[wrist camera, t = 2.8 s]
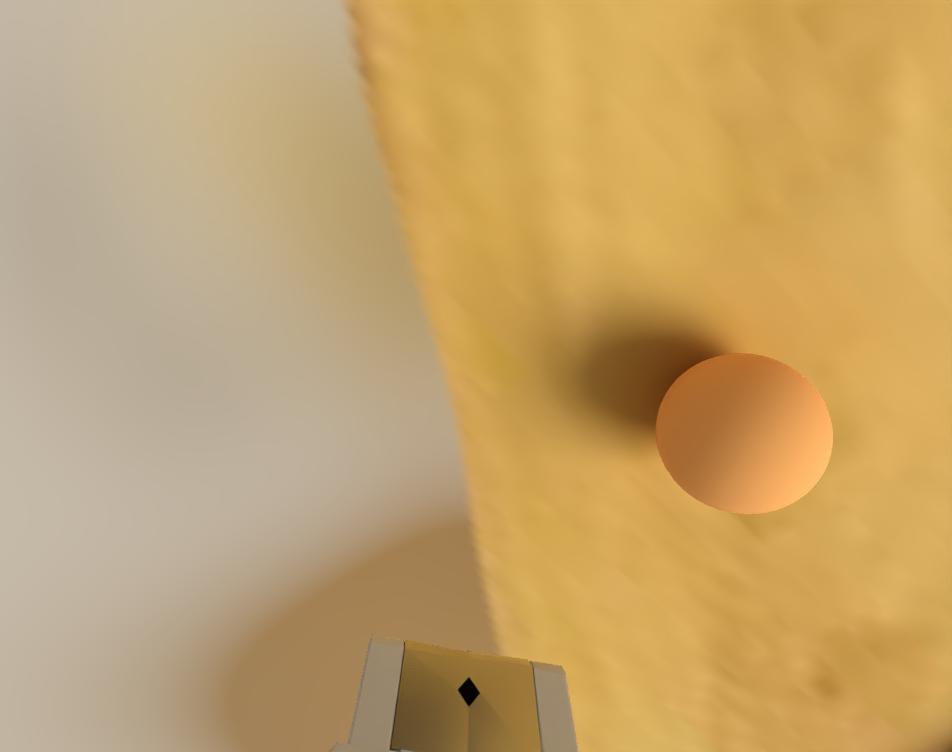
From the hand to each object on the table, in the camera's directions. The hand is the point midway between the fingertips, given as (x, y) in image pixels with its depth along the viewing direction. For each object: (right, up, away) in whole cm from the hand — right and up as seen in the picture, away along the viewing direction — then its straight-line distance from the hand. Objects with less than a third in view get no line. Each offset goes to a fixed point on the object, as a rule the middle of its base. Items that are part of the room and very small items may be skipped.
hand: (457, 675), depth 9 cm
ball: (+9, +3, +11) cm, 14 cm away
